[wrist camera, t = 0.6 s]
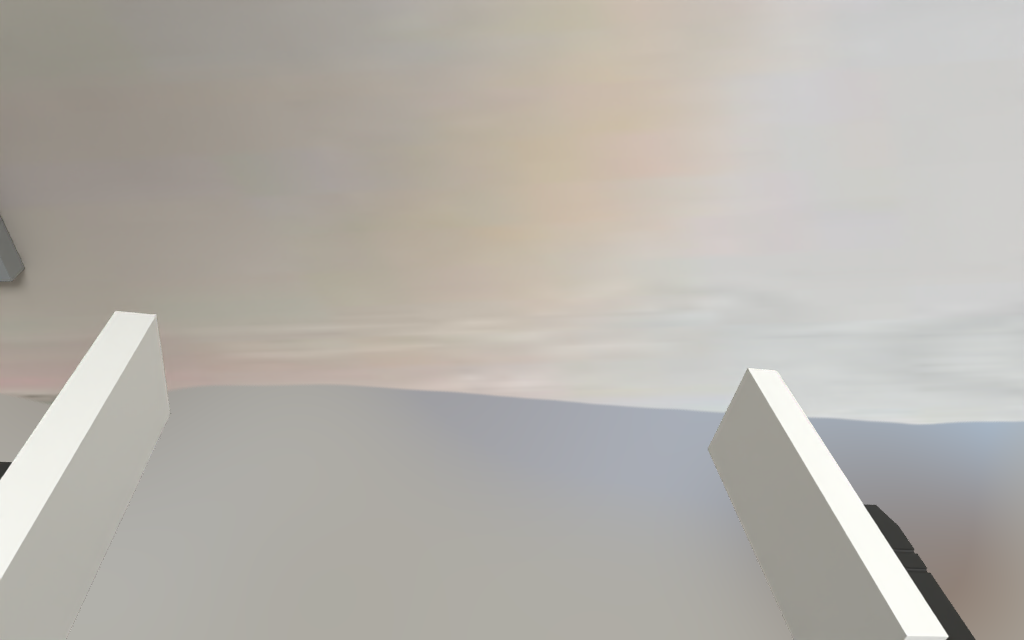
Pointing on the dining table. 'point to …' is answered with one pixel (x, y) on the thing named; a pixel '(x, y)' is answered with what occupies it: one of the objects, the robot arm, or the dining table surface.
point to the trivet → (8, 256)
